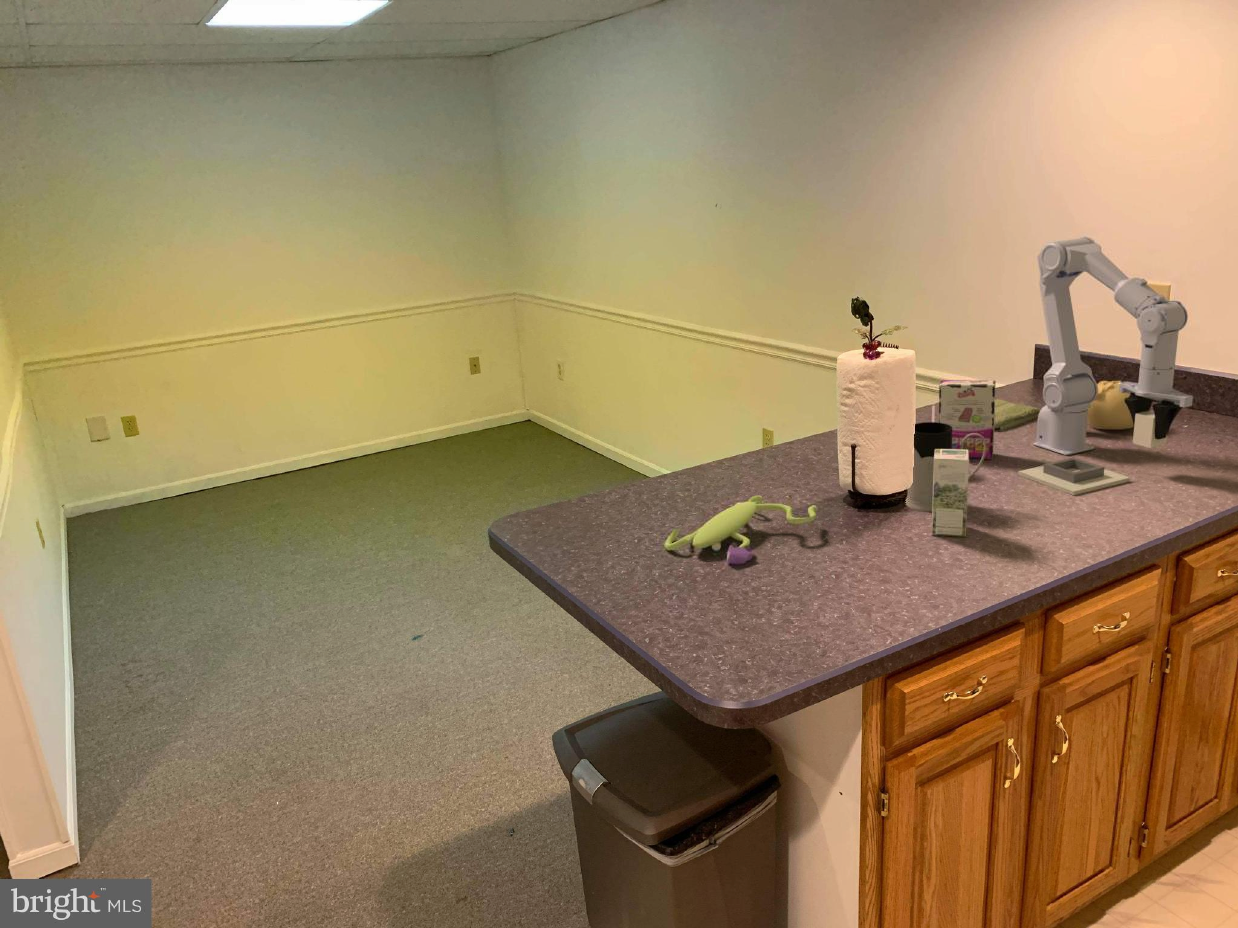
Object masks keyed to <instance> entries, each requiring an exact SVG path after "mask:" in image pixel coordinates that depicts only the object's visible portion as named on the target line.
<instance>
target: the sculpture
mask: <svg viewBox="0 0 1238 928" xmlns="http://www.w3.org/2000/svg"><path fill="white" fill-rule="evenodd" d="M1119 383H1122V381H1121V380H1112V381H1108V380H1101V381H1099V382H1098V383H1097V386H1098V395H1097V397H1096V399H1095V400H1094V401H1093V402H1091V407H1090V408H1088V414H1087V423H1089V425H1090V426H1091V427H1093V428H1094V429H1096V430H1117V431H1118V430H1119V431H1120V430H1127V429H1128V430H1129V429H1132V428H1134V425H1133V421H1132V417H1131V414H1130V411H1129V409H1128V407H1127V405H1126V403H1125V402H1124V401H1125V398H1128V397H1129V396H1130V394H1129V393H1120V392H1118V391H1119Z"/></svg>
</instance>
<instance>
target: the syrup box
mask: <svg viewBox="0 0 1238 928" xmlns="http://www.w3.org/2000/svg"><path fill="white" fill-rule="evenodd" d="M969 472H970V459H969V451H968V450H961V449H935V453H934V474H933V506H932V512H931V513H932V515H931V535H932V536H946V537H960V538H961V537H962V538H963V537H966V536H967V516H968V515H967V514H968V495H969V493H968V492H969V479H968V477H969V474H970V473H969Z"/></svg>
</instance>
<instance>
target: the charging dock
mask: <svg viewBox="0 0 1238 928" xmlns="http://www.w3.org/2000/svg"><path fill="white" fill-rule="evenodd" d="M1017 474H1018V476H1020V477H1023V478H1026V479H1028V480H1031V481H1034V482H1036V483H1040V484H1041V485H1044V486H1047V487H1050V488H1052V489H1055V490H1058V491H1060V492H1062V493H1063V492H1064V493H1065V494H1069V495H1072V496H1077V495H1081V494H1084V493H1085V494H1086V493H1089V492H1092V491H1093V492H1094V491H1098V490H1101V489H1105V488H1108V487H1113V486H1117V485H1120V484H1121V485H1122V484H1125V483H1128V482H1131V477H1130V476H1127V475H1123V474H1120V473H1117V472H1115V471H1111V470H1108V469H1105V466H1102V465H1098V464H1095V463H1094V462H1093V463H1092V462H1089V461H1087V460H1082V459H1080V458H1077V457H1074V456H1072V457H1069V458H1064V459H1060V460H1056V461H1051V462H1048V463H1044V464H1043V465H1040V466H1036V467H1035V466H1034V467H1031V468H1026V469H1023V470H1018V473H1017Z"/></svg>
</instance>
